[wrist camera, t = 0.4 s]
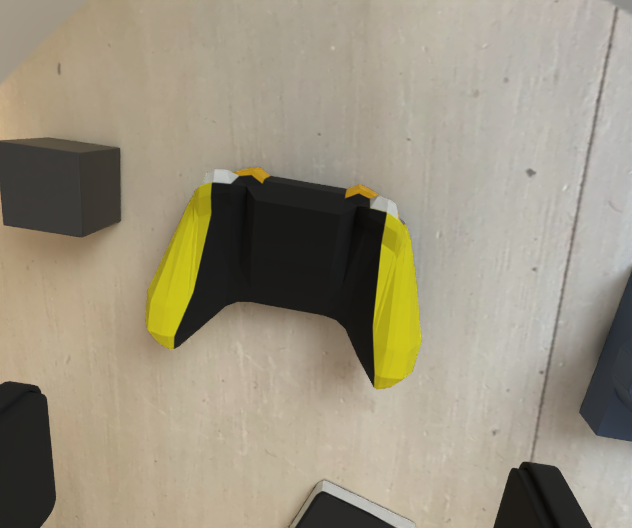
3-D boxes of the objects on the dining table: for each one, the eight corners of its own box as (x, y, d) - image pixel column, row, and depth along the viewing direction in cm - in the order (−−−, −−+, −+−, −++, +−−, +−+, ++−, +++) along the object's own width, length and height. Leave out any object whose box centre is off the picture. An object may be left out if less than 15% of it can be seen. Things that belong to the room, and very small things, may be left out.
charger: (48, 137, 26) (-5, 140, 23) (120, 147, 26) (79, 152, 22) (52, 214, 28) (3, 229, 24) (121, 224, 28) (82, 241, 24)
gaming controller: (404, 352, 28) (443, 196, 25) (413, 405, 23) (463, 216, 20) (172, 309, 29) (181, 151, 26) (130, 351, 24) (135, 160, 21)
